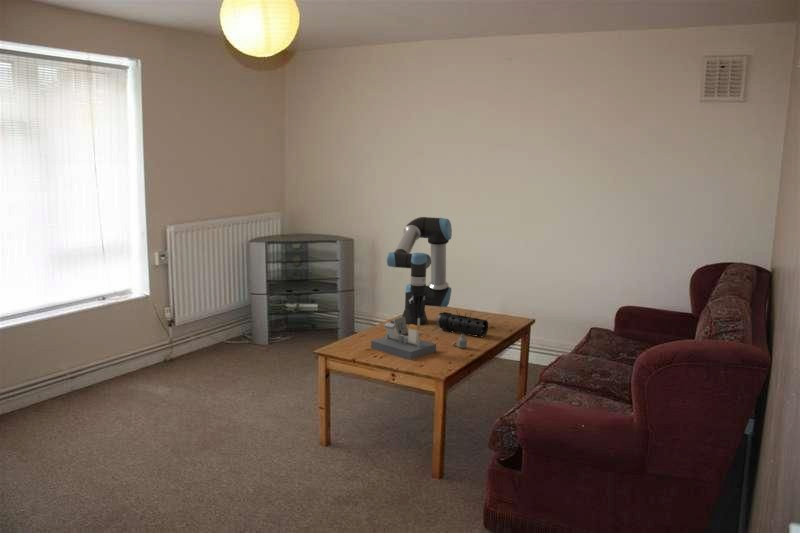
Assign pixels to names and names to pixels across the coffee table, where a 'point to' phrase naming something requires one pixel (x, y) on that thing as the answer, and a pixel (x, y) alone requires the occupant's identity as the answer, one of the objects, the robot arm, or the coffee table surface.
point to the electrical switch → (400, 325)
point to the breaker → (392, 331)
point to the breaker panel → (403, 347)
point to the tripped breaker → (413, 334)
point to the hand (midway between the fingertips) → (416, 330)
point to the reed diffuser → (462, 340)
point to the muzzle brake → (462, 324)
